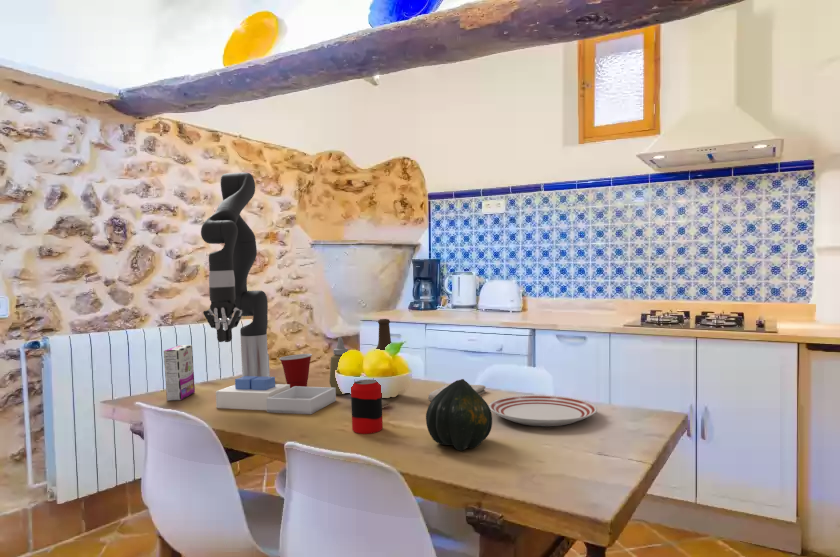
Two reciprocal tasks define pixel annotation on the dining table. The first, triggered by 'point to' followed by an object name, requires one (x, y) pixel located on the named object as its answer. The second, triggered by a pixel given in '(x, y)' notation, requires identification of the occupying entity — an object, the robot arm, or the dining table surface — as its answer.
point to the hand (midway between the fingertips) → (224, 341)
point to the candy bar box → (179, 372)
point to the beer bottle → (384, 334)
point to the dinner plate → (542, 410)
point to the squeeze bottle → (336, 364)
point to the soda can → (366, 407)
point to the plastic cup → (296, 369)
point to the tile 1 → (244, 382)
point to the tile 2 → (262, 383)
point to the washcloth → (477, 388)
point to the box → (301, 400)
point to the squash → (459, 416)
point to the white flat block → (246, 397)
